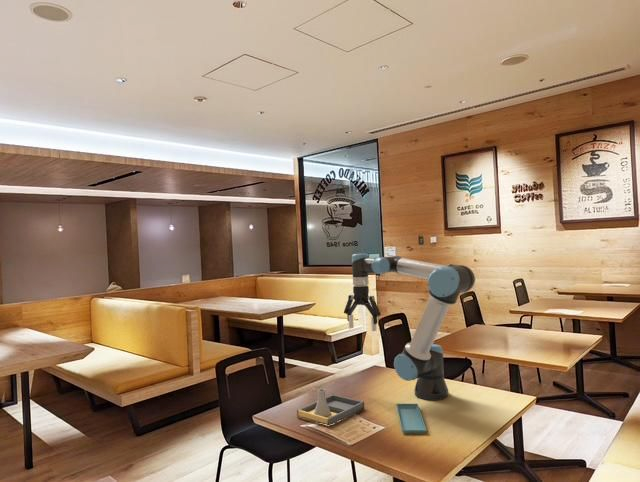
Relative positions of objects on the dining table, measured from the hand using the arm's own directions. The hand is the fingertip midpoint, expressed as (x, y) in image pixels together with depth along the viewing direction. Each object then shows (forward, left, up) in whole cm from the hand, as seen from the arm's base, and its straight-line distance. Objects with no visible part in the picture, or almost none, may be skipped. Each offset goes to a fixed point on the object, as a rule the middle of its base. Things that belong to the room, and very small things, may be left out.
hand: (362, 329), depth 220 cm
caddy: (-6, +34, -29) cm, 45 cm away
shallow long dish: (-37, +22, -29) cm, 52 cm away
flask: (-6, +39, -28) cm, 48 cm away
